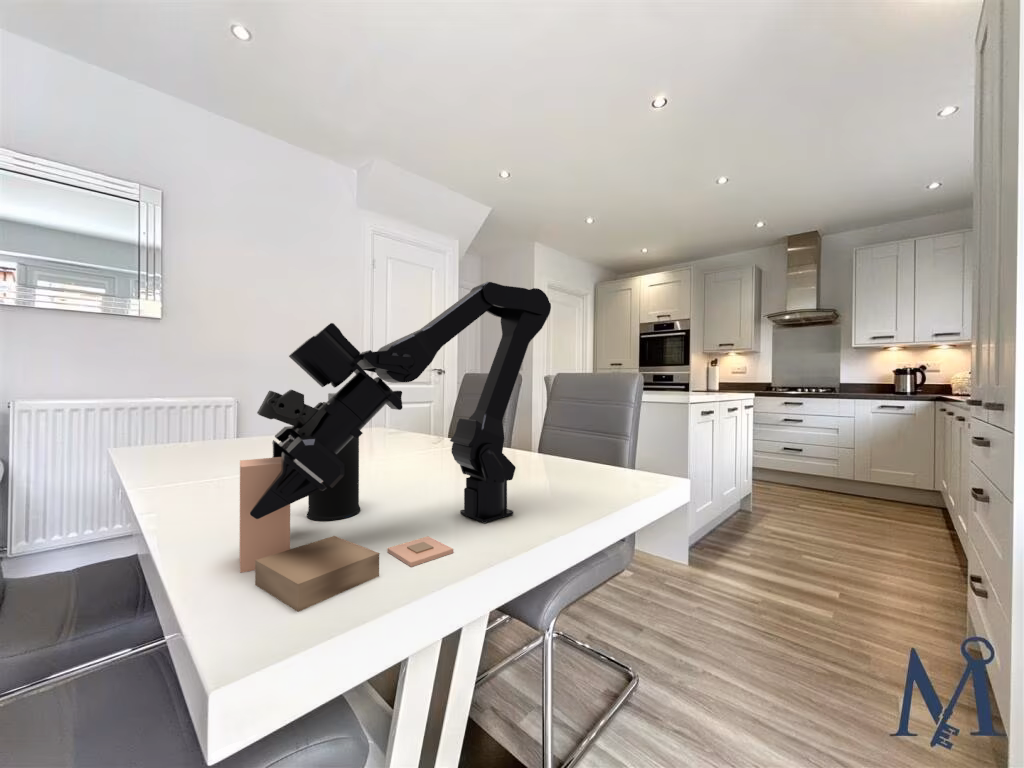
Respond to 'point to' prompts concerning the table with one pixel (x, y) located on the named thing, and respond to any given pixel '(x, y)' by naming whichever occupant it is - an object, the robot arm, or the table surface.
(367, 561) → the walnut slab
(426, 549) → the tile
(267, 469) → the terracotta block
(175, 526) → the table surface
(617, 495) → the table surface
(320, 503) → the aerosol can
